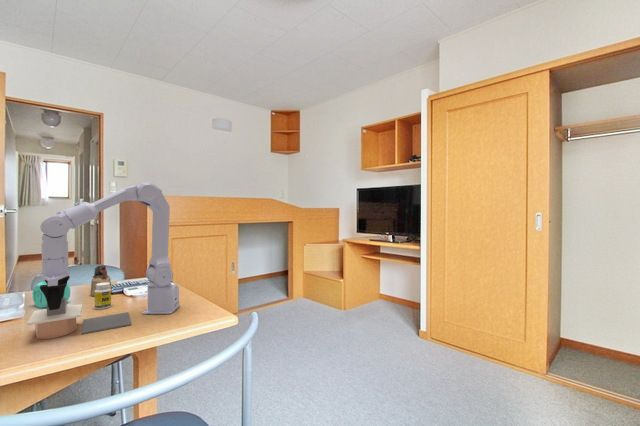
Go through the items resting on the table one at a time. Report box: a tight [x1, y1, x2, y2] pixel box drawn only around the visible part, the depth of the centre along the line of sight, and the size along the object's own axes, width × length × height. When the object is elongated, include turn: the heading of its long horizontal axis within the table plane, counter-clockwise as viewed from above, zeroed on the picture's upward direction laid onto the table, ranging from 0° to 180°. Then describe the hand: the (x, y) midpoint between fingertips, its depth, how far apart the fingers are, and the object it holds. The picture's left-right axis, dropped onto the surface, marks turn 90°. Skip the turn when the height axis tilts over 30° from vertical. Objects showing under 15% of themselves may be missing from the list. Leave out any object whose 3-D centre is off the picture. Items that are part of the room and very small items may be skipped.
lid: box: [26, 298, 83, 326], centre depth 89 cm, size 11×11×4 cm
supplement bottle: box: [94, 283, 112, 310], centre depth 110 cm, size 5×5×8 cm
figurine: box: [90, 264, 113, 298], centre depth 125 cm, size 7×7×12 cm
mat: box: [81, 311, 132, 335], centre depth 96 cm, size 12×12×1 cm
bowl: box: [34, 317, 77, 340], centre depth 89 cm, size 8×8×5 cm
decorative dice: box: [32, 281, 71, 309], centre depth 112 cm, size 8×8×8 cm
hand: (56, 305), depth 89 cm, fingers open, 7 cm apart
